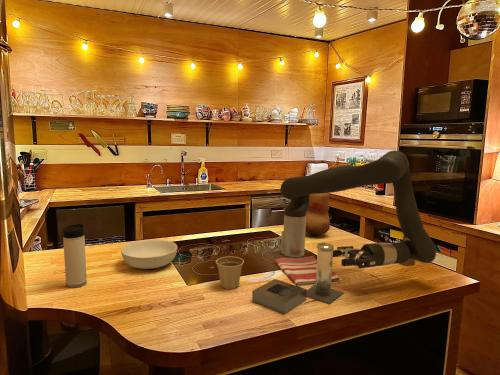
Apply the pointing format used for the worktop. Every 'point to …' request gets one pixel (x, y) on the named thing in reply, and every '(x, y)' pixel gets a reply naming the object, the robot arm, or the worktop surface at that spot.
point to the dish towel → (302, 270)
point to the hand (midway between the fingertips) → (335, 258)
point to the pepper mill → (410, 261)
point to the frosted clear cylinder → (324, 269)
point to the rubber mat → (325, 299)
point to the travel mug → (74, 255)
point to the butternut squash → (318, 214)
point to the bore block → (283, 303)
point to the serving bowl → (149, 253)
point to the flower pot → (229, 271)
